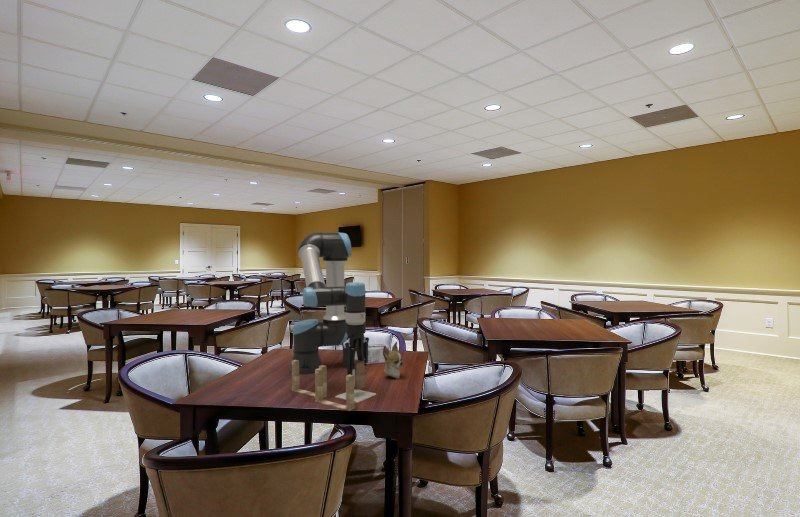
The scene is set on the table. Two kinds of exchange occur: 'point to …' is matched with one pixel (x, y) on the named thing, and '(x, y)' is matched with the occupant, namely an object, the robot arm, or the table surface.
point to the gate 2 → (319, 399)
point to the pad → (357, 395)
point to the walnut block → (359, 374)
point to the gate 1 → (296, 379)
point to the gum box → (374, 354)
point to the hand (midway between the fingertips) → (356, 384)
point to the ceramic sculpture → (392, 361)
